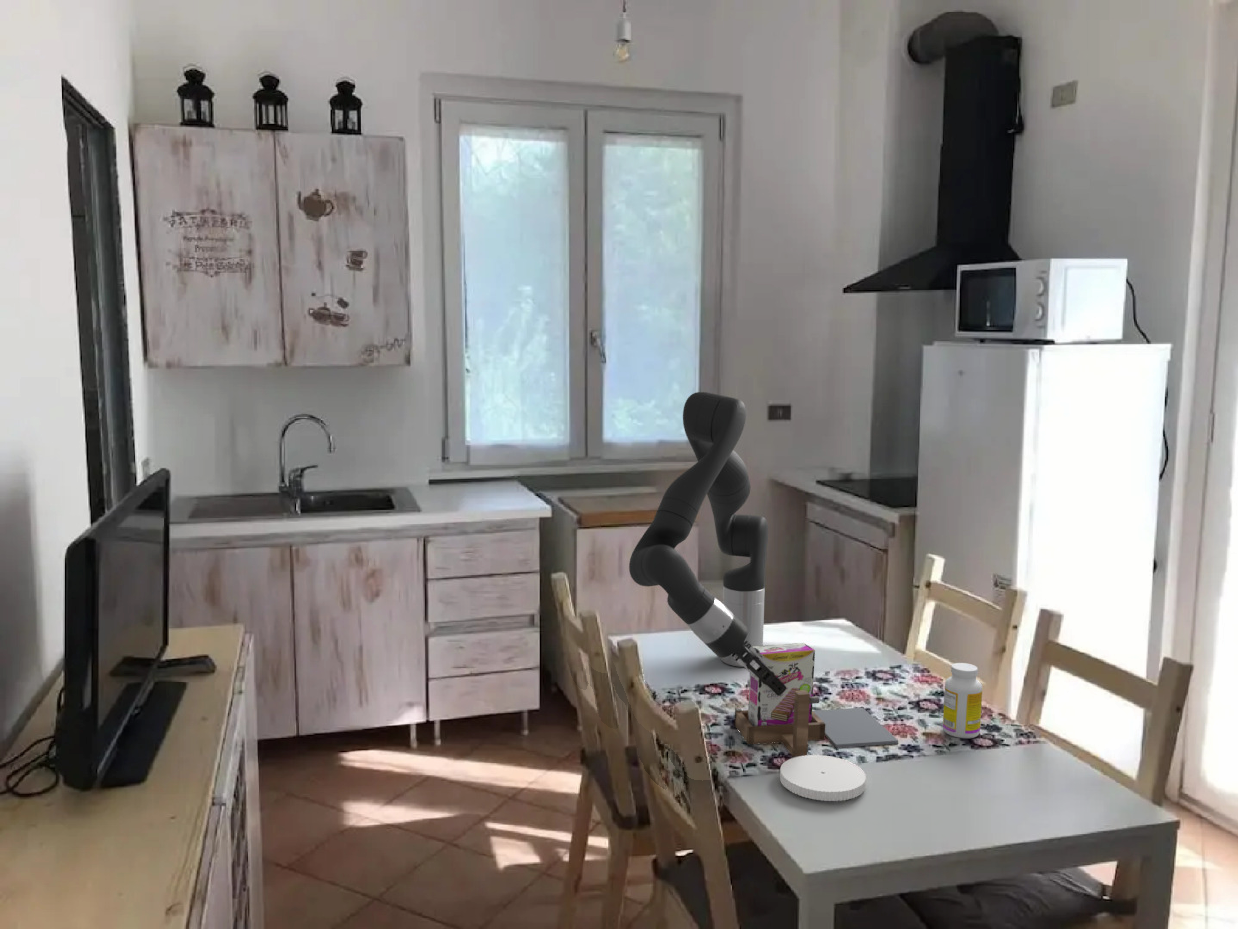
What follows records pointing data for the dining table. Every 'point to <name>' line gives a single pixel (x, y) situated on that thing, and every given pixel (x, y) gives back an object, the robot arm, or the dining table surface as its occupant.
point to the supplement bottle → (962, 702)
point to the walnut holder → (786, 727)
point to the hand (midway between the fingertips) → (777, 685)
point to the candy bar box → (793, 671)
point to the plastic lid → (823, 777)
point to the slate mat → (853, 728)
